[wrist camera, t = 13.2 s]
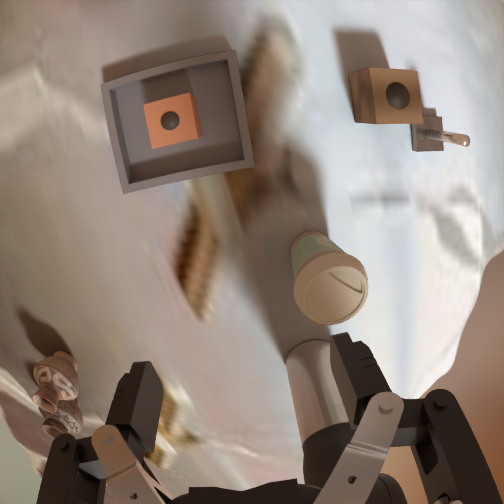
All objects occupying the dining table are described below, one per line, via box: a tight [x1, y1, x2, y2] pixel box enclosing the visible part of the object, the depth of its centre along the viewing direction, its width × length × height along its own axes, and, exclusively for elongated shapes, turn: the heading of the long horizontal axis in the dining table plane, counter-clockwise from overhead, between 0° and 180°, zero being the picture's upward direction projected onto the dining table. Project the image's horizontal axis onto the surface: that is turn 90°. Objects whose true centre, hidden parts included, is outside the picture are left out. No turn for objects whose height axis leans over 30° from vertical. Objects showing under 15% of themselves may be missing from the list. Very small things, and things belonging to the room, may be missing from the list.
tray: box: [101, 50, 255, 194], centre depth 32 cm, size 14×16×3 cm
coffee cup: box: [290, 231, 368, 325], centre depth 36 cm, size 8×9×12 cm
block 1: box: [143, 93, 203, 149], centre depth 30 cm, size 5×5×5 cm
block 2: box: [348, 68, 423, 124], centre depth 30 cm, size 6×6×7 cm
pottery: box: [33, 351, 83, 438], centre depth 46 cm, size 11×25×12 cm, turn 158°
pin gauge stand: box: [411, 116, 470, 152], centre depth 31 cm, size 5×5×9 cm
